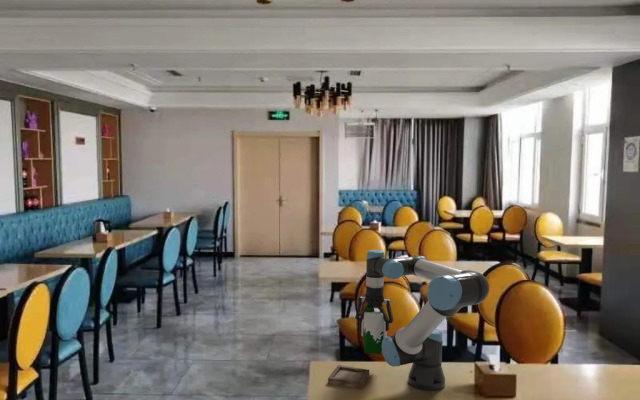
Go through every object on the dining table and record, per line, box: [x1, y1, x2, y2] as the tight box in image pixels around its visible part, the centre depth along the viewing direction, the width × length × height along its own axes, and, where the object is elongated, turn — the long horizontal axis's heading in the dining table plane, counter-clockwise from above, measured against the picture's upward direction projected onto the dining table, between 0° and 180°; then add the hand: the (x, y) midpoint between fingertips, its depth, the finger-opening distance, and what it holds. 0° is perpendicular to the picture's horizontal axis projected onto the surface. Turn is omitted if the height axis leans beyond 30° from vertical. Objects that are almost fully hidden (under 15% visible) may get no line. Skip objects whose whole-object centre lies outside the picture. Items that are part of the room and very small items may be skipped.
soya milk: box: [362, 304, 385, 355], centre depth 230 cm, size 9×9×20 cm
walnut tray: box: [327, 364, 370, 390], centre depth 222 cm, size 14×14×2 cm
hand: (373, 336), depth 231 cm, fingers closed on soya milk, 9 cm apart
